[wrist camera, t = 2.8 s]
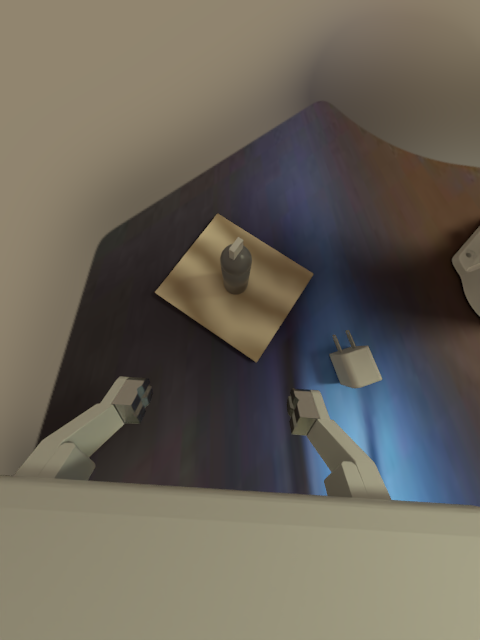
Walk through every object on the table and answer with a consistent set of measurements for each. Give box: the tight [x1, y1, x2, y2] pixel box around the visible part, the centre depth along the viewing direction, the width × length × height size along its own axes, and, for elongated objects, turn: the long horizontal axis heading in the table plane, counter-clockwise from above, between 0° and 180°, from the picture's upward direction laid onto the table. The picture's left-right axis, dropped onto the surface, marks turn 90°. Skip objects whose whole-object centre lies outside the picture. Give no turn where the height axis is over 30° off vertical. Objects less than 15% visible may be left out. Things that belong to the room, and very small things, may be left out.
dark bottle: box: [220, 237, 252, 295], centre depth 23 cm, size 4×4×10 cm
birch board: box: [155, 214, 313, 362], centre depth 29 cm, size 16×18×1 cm
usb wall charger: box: [329, 330, 382, 388], centre depth 26 cm, size 4×7×4 cm, turn 17°
